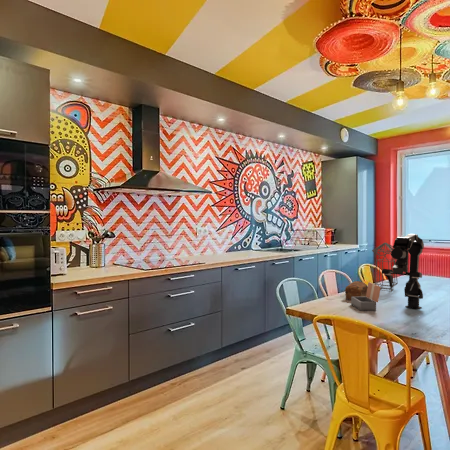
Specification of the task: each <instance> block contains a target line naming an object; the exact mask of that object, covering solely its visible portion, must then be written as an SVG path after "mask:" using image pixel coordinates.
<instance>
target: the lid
mask: <svg viewBox="0 0 450 450" xmlns="http://www.w3.org/2000/svg"><path fill="white" fill-rule="evenodd" d="M367 286H368V288H367V293H366V297H368V298H369V299H371V300H373V301H375V302H376V303H379V297H380V294H381V290H382V289H381V287H380V286H381V285H379V286H378V285H375V283H372V282H370V281H368V284H367ZM380 289H381V290H380Z"/></svg>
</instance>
